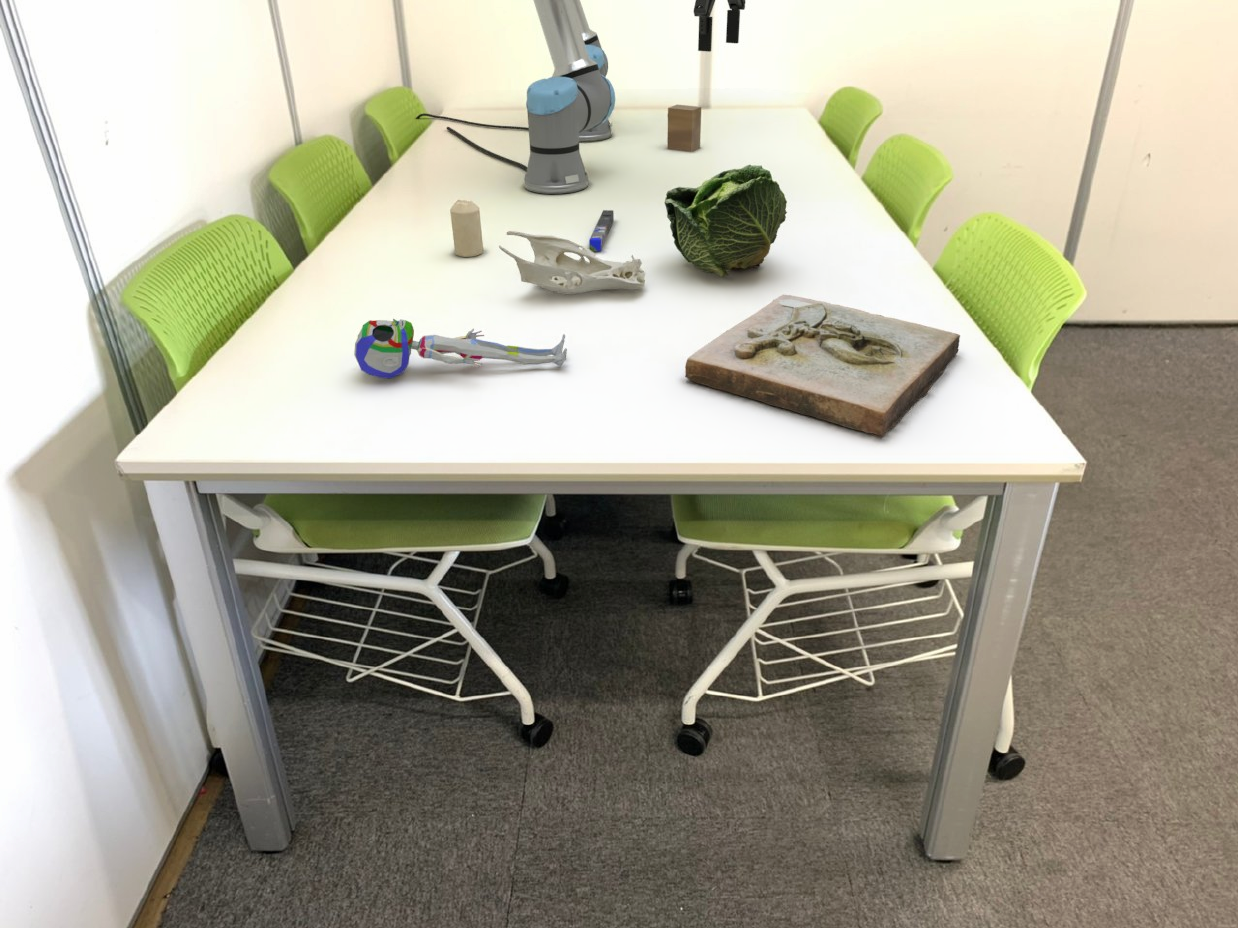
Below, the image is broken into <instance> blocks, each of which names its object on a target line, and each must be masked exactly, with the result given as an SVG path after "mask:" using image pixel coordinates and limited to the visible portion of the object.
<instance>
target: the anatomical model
mask: <svg viewBox="0 0 1238 928" xmlns="http://www.w3.org/2000/svg"><path fill="white" fill-rule="evenodd" d="M506 235H507V236H516V237H520V238H523V239H527V241H529V242H530V247H531V249H532V251H533V254H534V255H533V256H534V261H533V262H532V261H529V260H526V259H523V258H521V257H519V256H517V255H516V254H514V253H512V252H510V251H509V250H507V248H505V247H503V246H502V245H500V244H499V245H498V248H499V250H501V251H502V252H503V253H505V254H506V255H508V256H509V257H511V258H512V259H514V261H515V262H516V266H517V269H518V272H519V274H520V282H522V283H527V284H532V285H534V286H535V285H536V286H538V287H539V288H541V289H544V290H547V291H550V292H552V293H556V294H565V295H577V294H581V293H585V292H590V291H598V290H599V291H600V290H616V289H617V290H637V289H642V288H644V287H645V285H646V279H645V277H646V272H645V270H644V269H642V268H641V266H642V264H643V262H642V261H641V260H642V259H640V258H634V255H633V254H632V255H631V259H632V260H631V261H630V260H627V261H625V262H622V261H613V260H605V259H601V258H599V257H597V256H596V253H595V252H594V251H591V250H589V248H587V247H585V246H584V245H581V244H578V243H577V242H574V241H572V240H570V239H566V238H561V237H558V236H554V235H541V234H532V233H525V232H522V231H521V232H520V231H516V230H507V231H506ZM580 248H581V249H580ZM565 253H571V254H575V255H577V256H579V257H580V258H579V259H575V258H572V257H571V256H570V255H569V256H568V255H567V254H565ZM584 257H585V258H586V259H587V260H588V261H587V260H585V258H584Z"/></svg>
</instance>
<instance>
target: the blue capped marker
mask: <svg viewBox="0 0 1238 928" xmlns="http://www.w3.org/2000/svg"><path fill="white" fill-rule="evenodd" d="M614 216H615V215H614V210H613V209H612V210H611V209H602V212H601V214H600V216H599V219H598V221H597V222H596V225H595V227H594V229H593V231H592V234H591V236H590V237H589V241H588V243H589V244H588V245H589V246H588V247H589V248H588V249H589V250H591V251H592V252H601V251H602V249H603V247H604V245H605V242H606V239H607V237H608V235H609V232H610V231H611V228H612V226H613V223H614Z"/></svg>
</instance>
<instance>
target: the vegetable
mask: <svg viewBox="0 0 1238 928" xmlns="http://www.w3.org/2000/svg"><path fill="white" fill-rule="evenodd" d="M665 196H666V197H665V199H664V205H665V208H666V209H665V210H666V218H667V219H668V221H669V222H670V224H669V228H670V231H671V236H672V238H673V239H674V240H673V243H674V245H675V247H676V249H677V250H678V252H680V255H681V256H682V257H683V258H684V259H685V261H686V262H687V263H688V264H689V263H691V264H692V265H693V266H694V267H695V268H696V269H699V270H700V271H702V272H704V273H708V274H714V275H715V274H716V275H718V276H719V277H721V278H723V277H724V276H730V274H729V273H728V272H729V271H732V270H734V269H740V268H742V269H747V268H748V267H754V268H756V267H757V268H760V266H761V264H763V263H764V261H765V258H766V257H767V256H768V255H769V253H770V250H771V245H772V244H774V243H775V241H776V239H777V236H778V235H777V234H778V231H779V229H780V227H781V225H782V224H783V223H784V222H786V218H787V216H786V214H787V213H788V211H787V203H788V201H787V199H786V196H785V194H784V192H783V191H782V189H781V188H780V184H779V183H778V181H777V180H774V179H773V176H772V173H771V171H770V170H768V169H765V168H763V165H755V164H754V165H751V164H748V165H745V166H743V167H742V168H732V169H729V170H723V171H721V172H720V173H718V174H716V175H714V176H713V177H711V178H709V179H707V180H704V181H703V182H702V184H701V185H700V186H698V187H684V186H677V187H674V188H672V189H670V190H668V191H667V192H666V194H665Z"/></svg>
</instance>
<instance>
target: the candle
mask: <svg viewBox="0 0 1238 928" xmlns="http://www.w3.org/2000/svg"><path fill="white" fill-rule="evenodd" d="M449 212H450V213H449V214H450V222H451V228H452V231H451V232H452V239H453V247H454V253H455V255H457V256H459V257H465V258H466V257H467V258H468V257H475V256H479V255H481V254H483V252H484V242H483V234H482V233H483V232H482V231H483V230H482V222H481V221H482V220H481V212H480V207H479V205H478V204H476V203H475V202H474V201H472V200H470V201H468V200H465V199H464V200H462V199H457V200H456V201H455V202H454V203H453V205H452V206H451V207H450V209H449Z"/></svg>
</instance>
